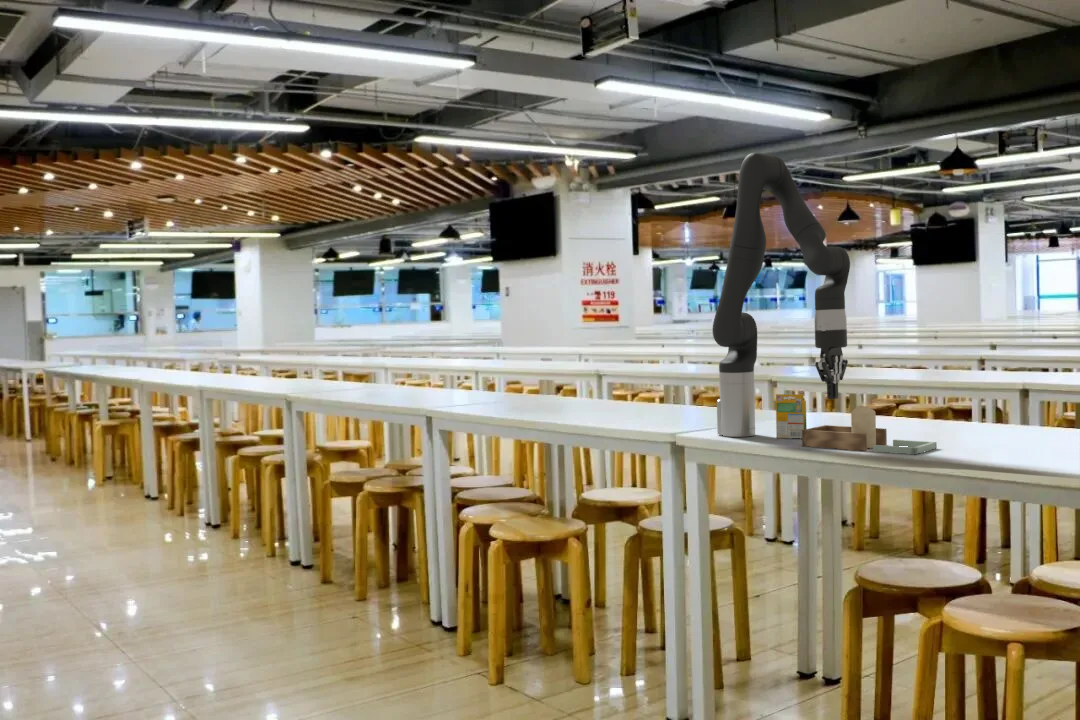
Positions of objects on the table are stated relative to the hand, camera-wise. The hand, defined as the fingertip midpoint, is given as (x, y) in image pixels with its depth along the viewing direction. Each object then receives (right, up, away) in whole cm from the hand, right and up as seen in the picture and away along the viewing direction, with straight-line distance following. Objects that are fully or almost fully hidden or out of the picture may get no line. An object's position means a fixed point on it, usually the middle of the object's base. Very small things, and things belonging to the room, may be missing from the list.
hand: (832, 398), depth 236 cm
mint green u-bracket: (+13, -12, -12) cm, 21 cm away
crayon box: (-6, -11, +16) cm, 20 cm away
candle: (+6, -12, -5) cm, 14 cm away
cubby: (+2, -11, -1) cm, 12 cm away
